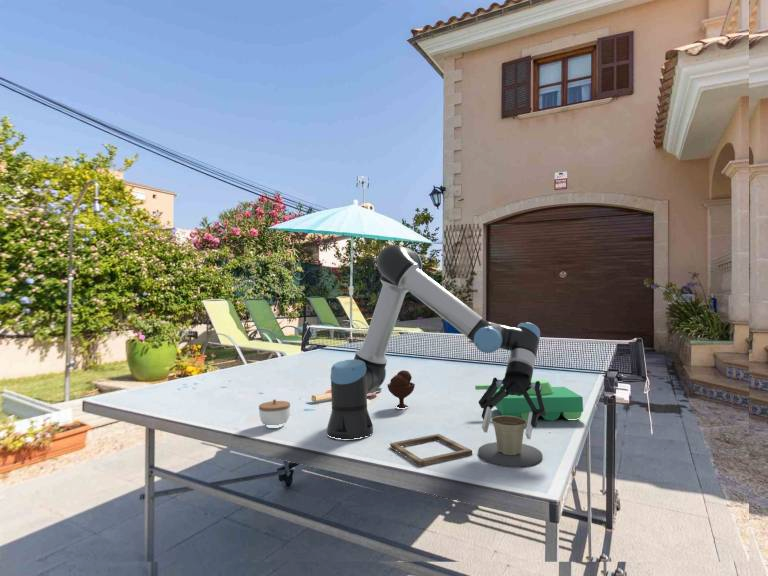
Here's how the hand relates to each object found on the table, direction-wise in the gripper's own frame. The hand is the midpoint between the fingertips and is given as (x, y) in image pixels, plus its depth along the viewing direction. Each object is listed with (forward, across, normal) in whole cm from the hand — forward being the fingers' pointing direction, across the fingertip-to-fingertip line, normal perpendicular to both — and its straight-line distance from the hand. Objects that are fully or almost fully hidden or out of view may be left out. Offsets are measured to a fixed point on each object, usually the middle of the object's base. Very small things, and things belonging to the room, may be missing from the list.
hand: (505, 433), depth 116 cm
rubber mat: (+3, 0, -7) cm, 7 cm away
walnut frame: (+8, +21, -1) cm, 22 cm away
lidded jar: (+12, +80, +2) cm, 81 cm away
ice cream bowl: (-18, +53, -28) cm, 63 cm away
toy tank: (-27, +8, -37) cm, 46 cm away
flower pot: (+2, 0, -6) cm, 7 cm away
